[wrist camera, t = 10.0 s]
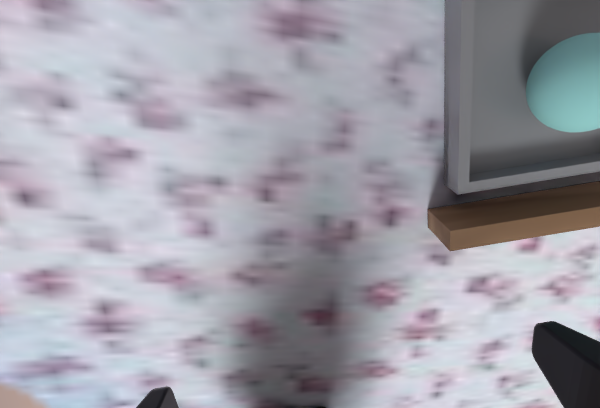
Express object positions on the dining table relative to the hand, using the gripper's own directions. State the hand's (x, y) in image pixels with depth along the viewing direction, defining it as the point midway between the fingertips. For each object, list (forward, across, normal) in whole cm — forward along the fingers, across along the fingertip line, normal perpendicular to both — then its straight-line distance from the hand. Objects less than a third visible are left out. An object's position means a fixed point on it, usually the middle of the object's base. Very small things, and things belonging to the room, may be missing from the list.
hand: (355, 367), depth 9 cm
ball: (+12, -13, -4) cm, 18 cm away
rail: (+13, -16, +3) cm, 21 cm away
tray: (+13, -13, -4) cm, 19 cm away
